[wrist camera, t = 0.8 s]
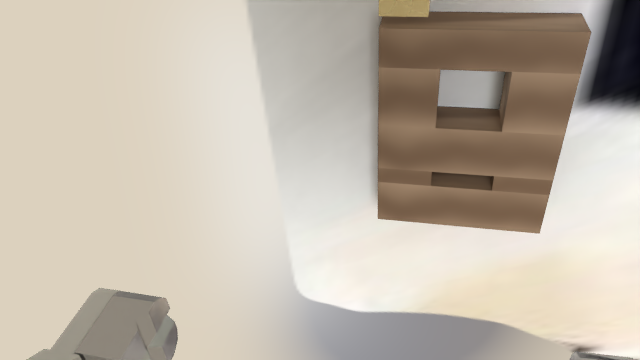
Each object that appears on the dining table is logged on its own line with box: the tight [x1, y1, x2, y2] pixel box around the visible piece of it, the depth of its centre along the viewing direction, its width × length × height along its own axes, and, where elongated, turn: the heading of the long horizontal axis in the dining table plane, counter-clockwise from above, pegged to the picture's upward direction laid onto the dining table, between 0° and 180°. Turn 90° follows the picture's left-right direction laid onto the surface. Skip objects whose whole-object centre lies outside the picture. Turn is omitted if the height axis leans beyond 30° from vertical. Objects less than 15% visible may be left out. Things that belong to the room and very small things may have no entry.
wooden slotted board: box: [378, 12, 591, 233], centre depth 43 cm, size 18×14×4 cm
